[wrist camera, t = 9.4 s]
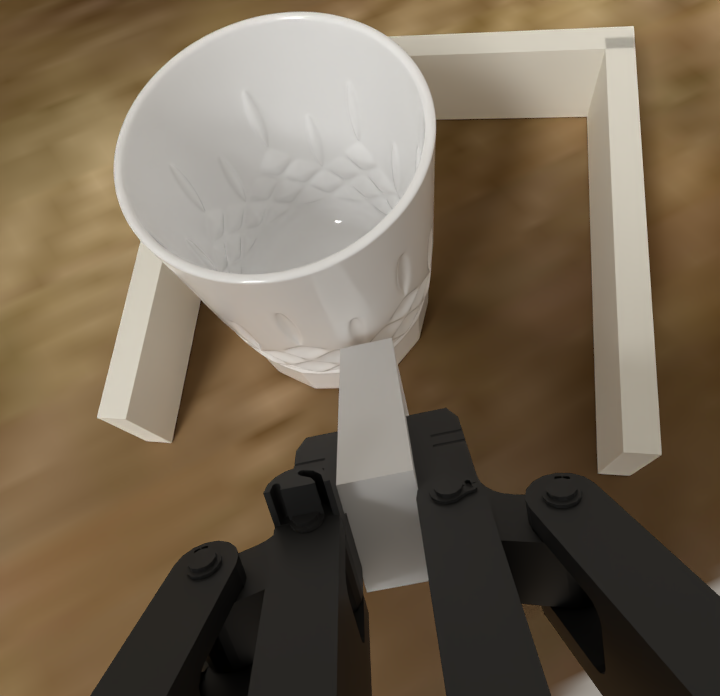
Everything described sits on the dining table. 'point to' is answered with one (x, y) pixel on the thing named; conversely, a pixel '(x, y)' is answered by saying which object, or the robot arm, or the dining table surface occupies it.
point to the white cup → (289, 185)
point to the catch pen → (475, 101)
